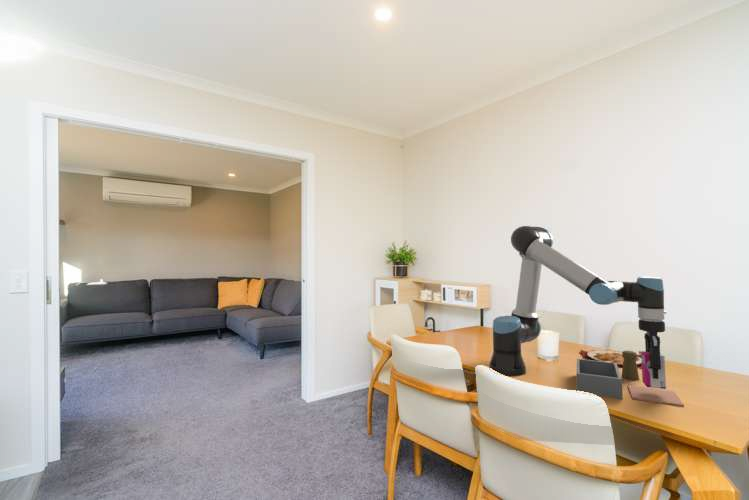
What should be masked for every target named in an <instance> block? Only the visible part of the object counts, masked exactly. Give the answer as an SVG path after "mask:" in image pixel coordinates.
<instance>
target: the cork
mask: <svg viewBox="0 0 749 500" xmlns="http://www.w3.org/2000/svg"><path fill="white" fill-rule="evenodd" d="M621 352H622V357H623V358H624V361H623V367H621V368H622V369H621V378H622V379H625V380H627V381H628V380H629V381H639V380H640V376H639V369H638V367H637V364H636V359H637V355H638V353H637V352H636V351H633V350H623V351H621Z"/></svg>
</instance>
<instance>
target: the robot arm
mask: <svg viewBox="0 0 749 500" xmlns="http://www.w3.org/2000/svg"><path fill="white" fill-rule="evenodd" d="M510 243H511V245H512V247H513V249H514V250H516V251H517V252H518V254H519V257H520V258H521V267H520V272H519V282H518V289H517V295H516V297H517V298H516V302H515V303H516V305H515V308H514V309H513V310H512V311H511V315H500V316H497V317H496V318H494V319H493V320H492V343H493V344H492V345H493V347H492V348H493V352H492V355H491V358H490V361H489V369H490V368H492V369H493V370H495V371H497V372H499V373H501V374H500V375H502V374H504V375H503V376H512V377H514V376H522V375H525V374H526V373H527V368H526V363H525V361H524V357H523V356H522V344H525V343H529V342H532V341H534V340H535V339H537V338H538V337H539V336H540V335H541V331H542V326H541V323H540V321H539V314H538V313H537V311H536V310H537V303H538V296H539V286H540V280H541V273H542V268H543V267H542V265H543V266H544V267H546V268H547V269H549V270H550V271H551V272H554V273H555V274H556V275H558V276H559V277H561V278H562V279H564V280H565V281H567V282H569V284H572V285H573V286H574V287H576V288H578V289H579V290H581V291H582V292H583V293H584V294H587V295H588V296H589V298H590V299H591V301H592V302H593V303H595V304H597V305H602V306H603V305H604V306H607V305H611V304H614V303H618V302H625V303H626V302H629V303H637V317H638V318H639V319H638V330H640V331H643V332H645V333H644V337H643V338H644V345H645V352H649V354H650V367H648V368H649V369H650V386H651V387H650V388H652V387H655V389H661V388H660V369H661V361H660V353H661V339H660V338H661V337H660V336H659V335H658V333H663V332H665V331H666V322H665V321H664V320H665V315H666V314H667V311H666V310H665V297H664V296H665V289H664V283H663V281H664V280H663V279H662V278H661V277H658V276H638V277H637V279H636V281H619V280H618V281H617V280H616V281H615V280H605V279H604V278H601V277H600V276H598V275H597V274H596V273H594V272H592V271H590V270H589V269H588V268H585V267H584V266H582V265H580V264H579V263H577V262H576V261H574V260H573V259H570V258H569V257H568V256H566V255H564V254H562V253H561V252H559V251H557V250H556V249H554V248H553V247H552V246H553V244H554V238H553V235H552V233H551V232H550V231H549V230H548V229H546V228H545V227H540V226H531V225H522V226H519V227H518V228H516V229H515V230H514V231H513V232H512V233H511V237H510Z"/></svg>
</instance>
